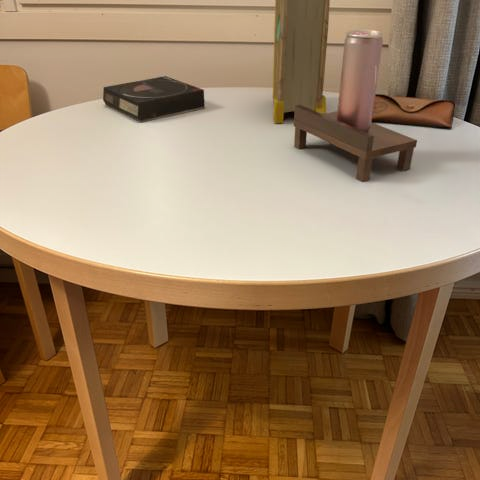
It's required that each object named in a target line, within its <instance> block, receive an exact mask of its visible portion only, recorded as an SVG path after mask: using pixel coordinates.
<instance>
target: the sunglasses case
mask: <svg viewBox="0 0 480 480" xmlns="http://www.w3.org/2000/svg"><path fill="white" fill-rule="evenodd" d="M455 107H456V103H455V102H454V101H453V100H450V99H427V98H420V97H419V98H417V97H409V96H408V97H407V96H393V95H387V94H381V93H376V94H375V101H374V108H373V115H372V122H383V123H388V124H400V125H406V126H414V127H424V128H425V127H427V128H452V127H453V122H454V115H455Z"/></svg>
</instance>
